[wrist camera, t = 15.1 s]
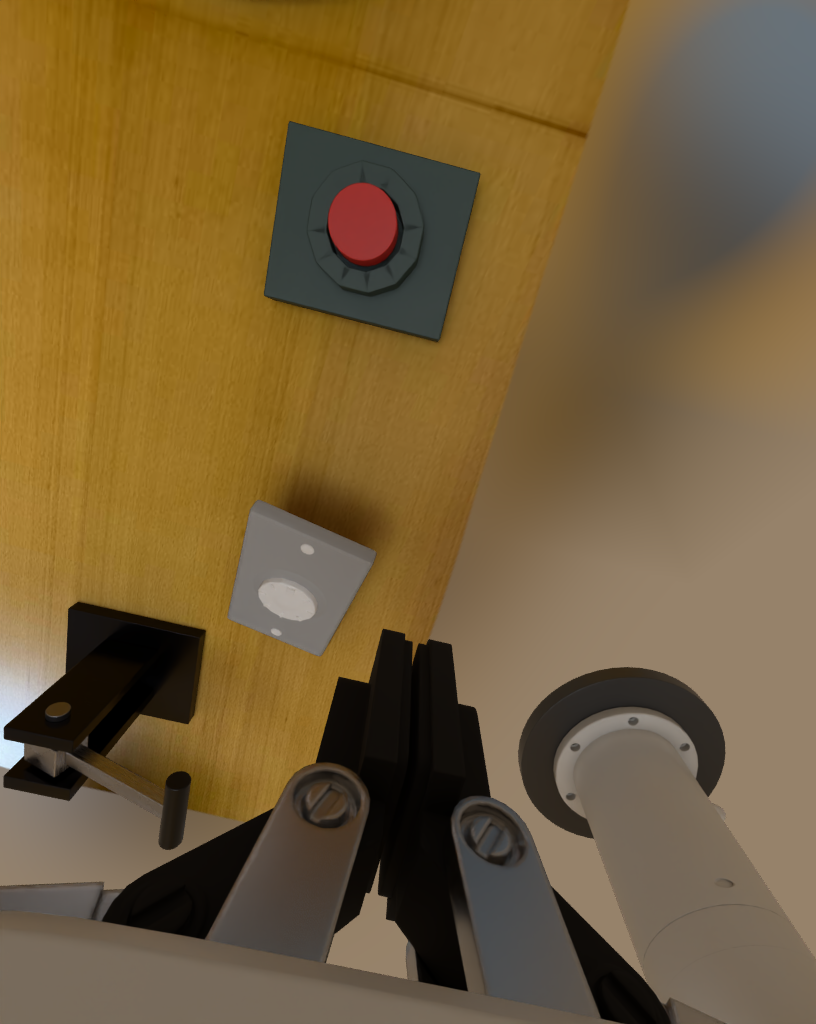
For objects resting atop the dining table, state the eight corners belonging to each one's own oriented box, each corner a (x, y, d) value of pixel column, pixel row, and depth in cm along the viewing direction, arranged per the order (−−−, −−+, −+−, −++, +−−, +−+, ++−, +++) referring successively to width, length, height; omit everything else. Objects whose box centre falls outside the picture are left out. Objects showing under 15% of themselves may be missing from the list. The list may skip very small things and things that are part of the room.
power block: (476, 185, 32) (484, 160, 28) (438, 342, 35) (440, 339, 31) (297, 136, 31) (280, 104, 28) (272, 299, 34) (254, 291, 30)
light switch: (220, 628, 40) (242, 518, 30) (253, 573, 44) (281, 461, 34) (316, 667, 41) (369, 574, 31) (339, 610, 45) (392, 512, 35)
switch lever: (201, 771, 31) (173, 799, 29) (193, 829, 33) (165, 860, 30) (59, 696, 34) (24, 717, 32) (57, 753, 36) (23, 776, 33)
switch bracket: (205, 630, 42) (126, 727, 31) (194, 715, 45) (116, 833, 33) (77, 601, 42) (-51, 689, 30) (73, 689, 44) (-47, 800, 33)
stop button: (405, 202, 29) (404, 192, 28) (390, 273, 30) (388, 268, 29) (339, 185, 29) (335, 173, 27) (327, 257, 30) (321, 251, 28)
